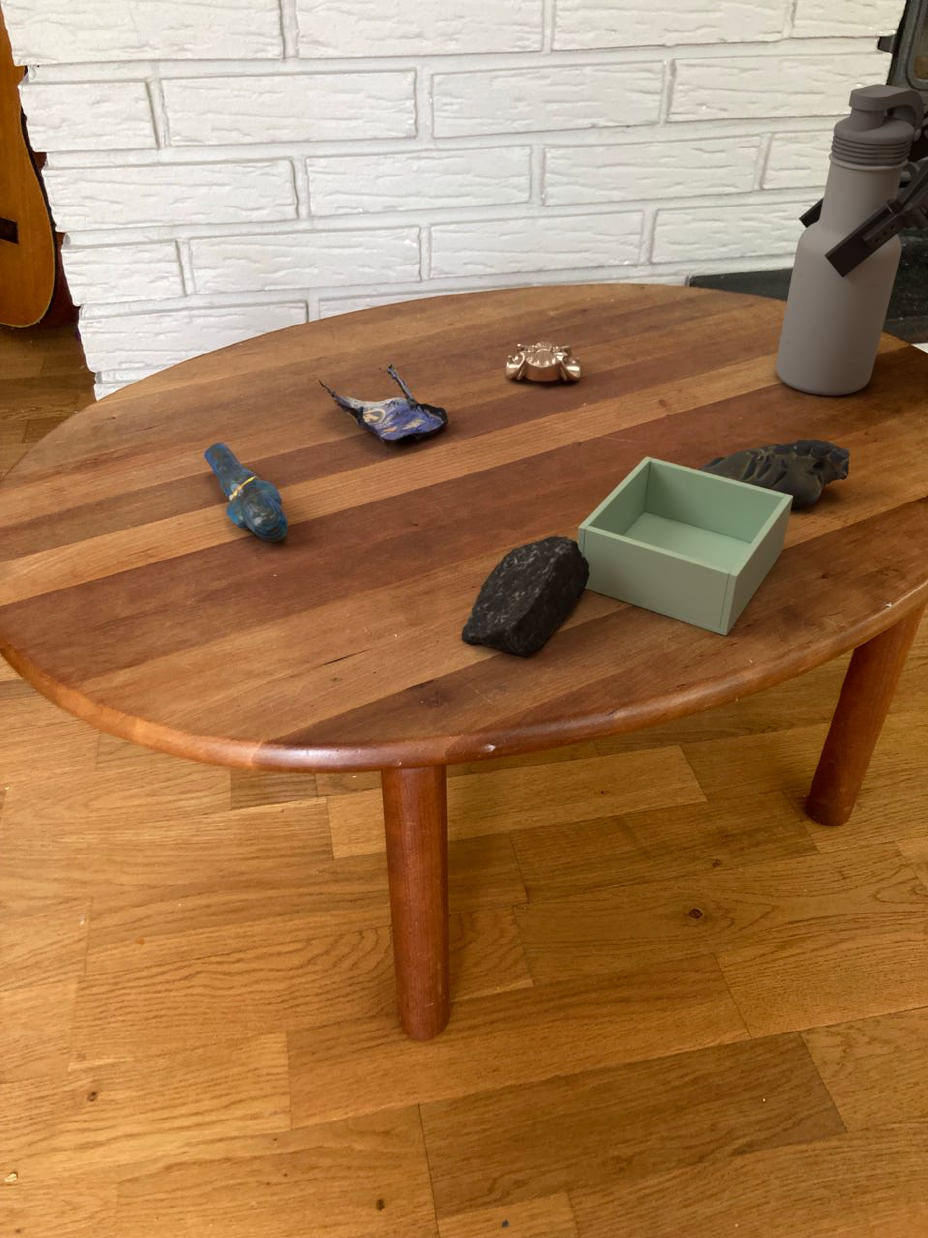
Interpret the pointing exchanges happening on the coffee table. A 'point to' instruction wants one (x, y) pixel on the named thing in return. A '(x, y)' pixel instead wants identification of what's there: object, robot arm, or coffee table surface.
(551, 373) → the ornament
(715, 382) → the coffee table surface
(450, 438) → the coffee table surface
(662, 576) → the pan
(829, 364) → the water bottle
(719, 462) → the stone
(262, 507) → the blue long piece
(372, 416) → the snack package
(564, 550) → the rock
